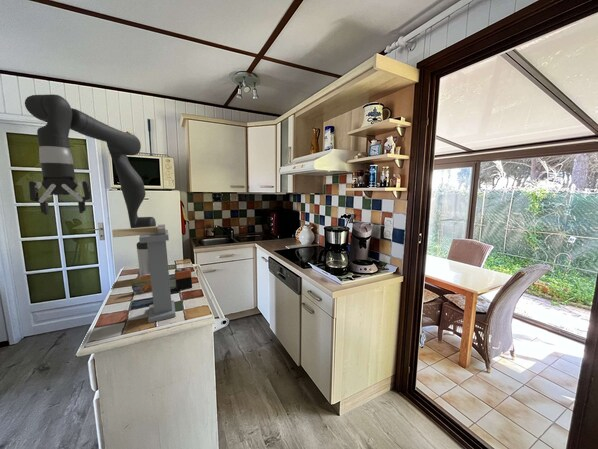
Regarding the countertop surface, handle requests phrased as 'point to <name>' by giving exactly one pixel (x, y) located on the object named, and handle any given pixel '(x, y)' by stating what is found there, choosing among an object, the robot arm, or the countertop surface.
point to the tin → (142, 284)
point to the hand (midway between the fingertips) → (64, 213)
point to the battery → (183, 278)
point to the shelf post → (159, 277)
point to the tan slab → (139, 231)
